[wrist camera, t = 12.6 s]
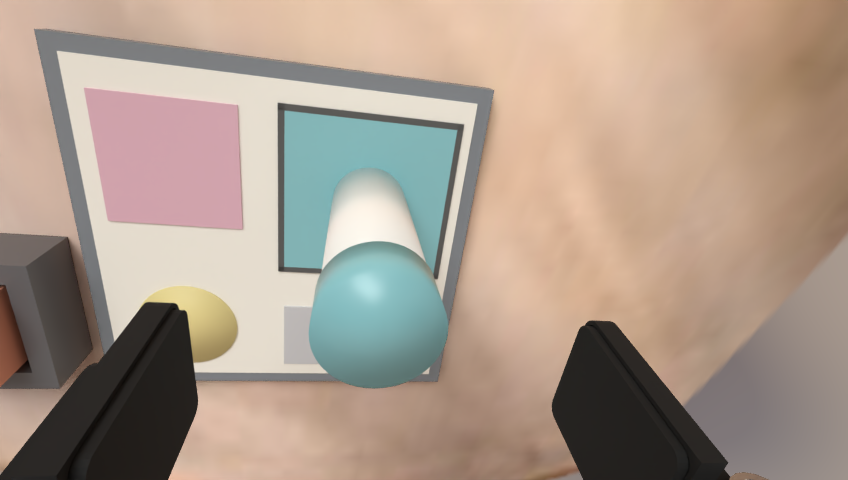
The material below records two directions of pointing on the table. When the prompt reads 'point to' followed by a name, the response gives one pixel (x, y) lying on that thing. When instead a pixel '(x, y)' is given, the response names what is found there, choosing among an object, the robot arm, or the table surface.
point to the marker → (375, 288)
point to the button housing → (44, 309)
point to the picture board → (245, 185)
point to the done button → (9, 339)
